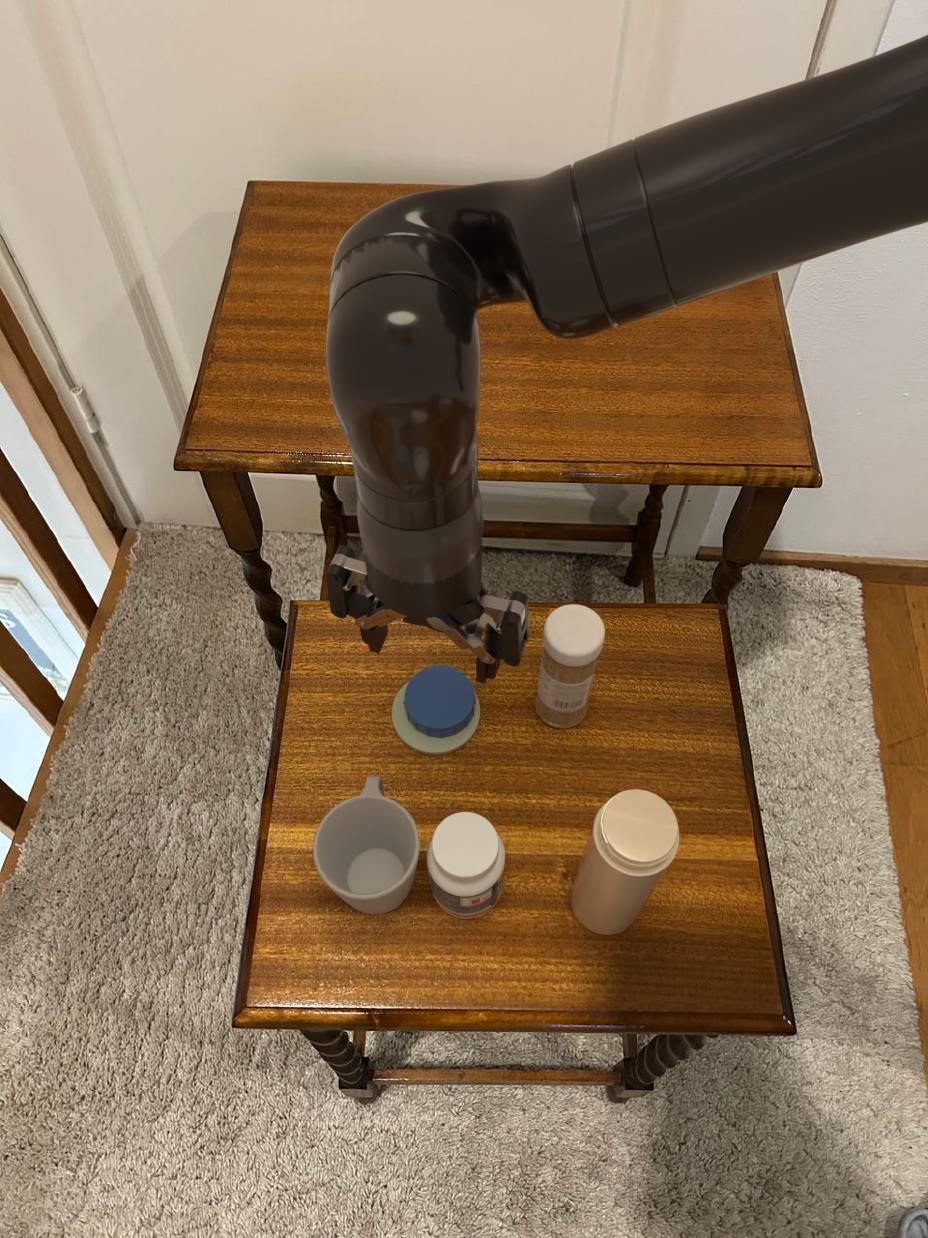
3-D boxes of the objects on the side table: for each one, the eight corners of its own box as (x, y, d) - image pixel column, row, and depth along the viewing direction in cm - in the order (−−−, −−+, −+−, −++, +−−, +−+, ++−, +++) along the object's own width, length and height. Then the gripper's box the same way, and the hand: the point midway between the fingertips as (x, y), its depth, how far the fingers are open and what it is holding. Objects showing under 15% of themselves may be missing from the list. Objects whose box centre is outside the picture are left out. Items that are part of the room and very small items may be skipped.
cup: (323, 927, 71) (307, 898, 64) (334, 802, 77) (320, 762, 69) (423, 928, 71) (418, 900, 64) (427, 803, 76) (423, 763, 69)
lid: (391, 700, 81) (390, 690, 79) (447, 663, 82) (446, 652, 81) (433, 751, 78) (432, 742, 76) (489, 711, 80) (489, 702, 78)
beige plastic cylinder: (622, 855, 74) (661, 772, 59) (651, 921, 71) (700, 851, 56) (559, 878, 73) (582, 799, 58) (586, 945, 71) (618, 881, 56)
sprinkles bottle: (591, 690, 82) (611, 609, 70) (580, 736, 79) (599, 661, 68) (540, 678, 82) (551, 596, 71) (528, 723, 80) (538, 646, 69)
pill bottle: (514, 903, 72) (520, 866, 64) (445, 932, 71) (442, 898, 63) (486, 837, 75) (488, 792, 66) (419, 863, 74) (412, 821, 65)
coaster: (491, 689, 82) (491, 685, 81) (464, 766, 78) (464, 763, 78) (409, 665, 83) (409, 662, 83) (379, 740, 79) (378, 737, 79)
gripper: (290, 548, 57) (326, 674, 71) (515, 608, 55) (507, 726, 68) (337, 459, 61) (362, 595, 75) (548, 511, 58) (534, 641, 72)
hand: (431, 657), depth 71 cm, fingers open, 8 cm apart
